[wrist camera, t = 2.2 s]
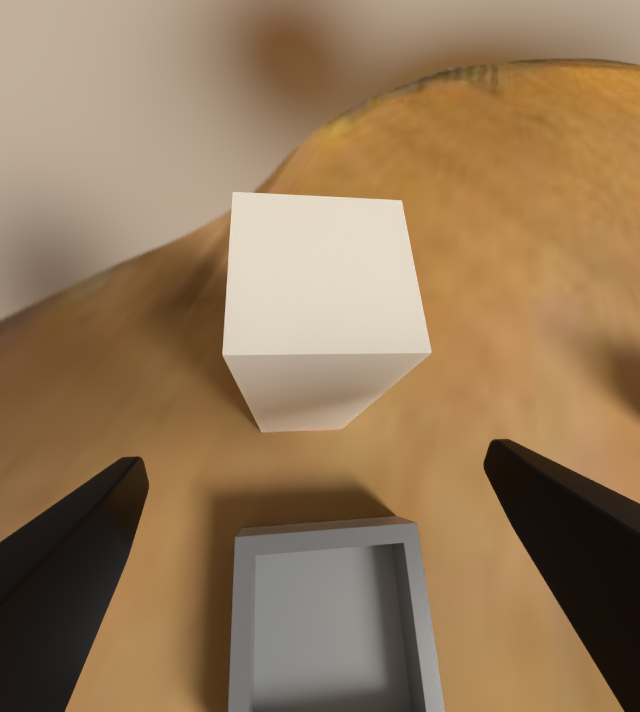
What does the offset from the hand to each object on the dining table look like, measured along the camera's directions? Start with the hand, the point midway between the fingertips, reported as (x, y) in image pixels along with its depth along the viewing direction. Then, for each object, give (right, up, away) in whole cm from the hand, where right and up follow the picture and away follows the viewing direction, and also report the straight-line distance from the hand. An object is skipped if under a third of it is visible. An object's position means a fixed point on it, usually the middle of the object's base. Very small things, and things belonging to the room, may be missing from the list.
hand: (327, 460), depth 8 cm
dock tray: (0, -11, +8) cm, 13 cm away
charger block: (-1, 0, +12) cm, 12 cm away
